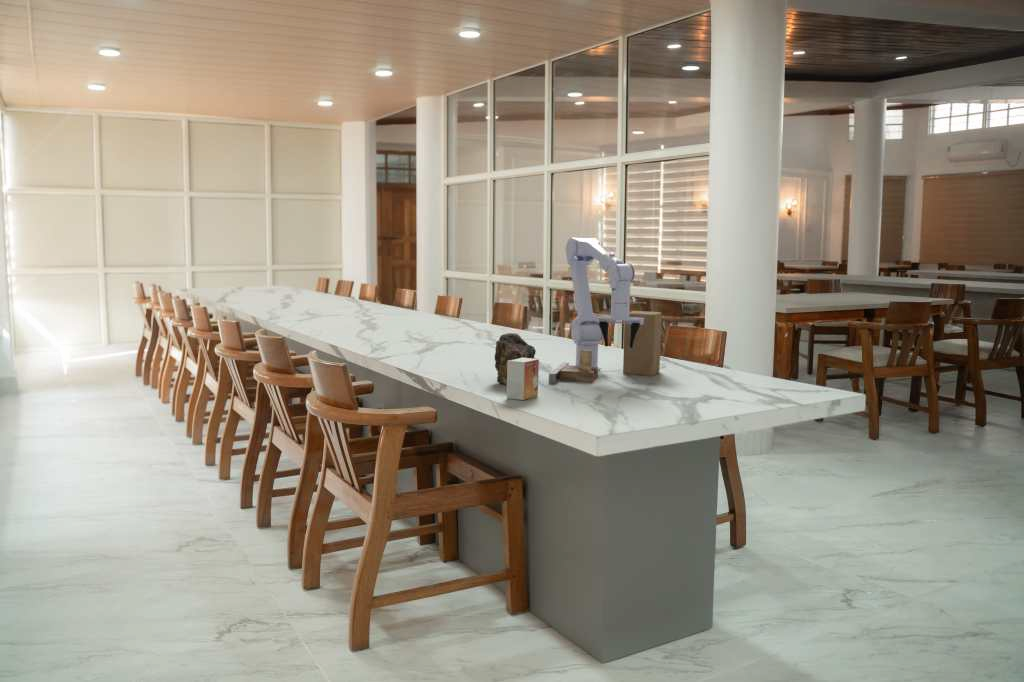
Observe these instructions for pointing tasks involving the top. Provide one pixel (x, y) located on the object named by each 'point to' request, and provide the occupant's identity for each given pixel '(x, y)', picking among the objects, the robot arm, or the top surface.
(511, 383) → the small box
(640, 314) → the wooden block
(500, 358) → the rock
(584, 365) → the dowel
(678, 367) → the top surface
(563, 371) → the block
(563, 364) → the rail
